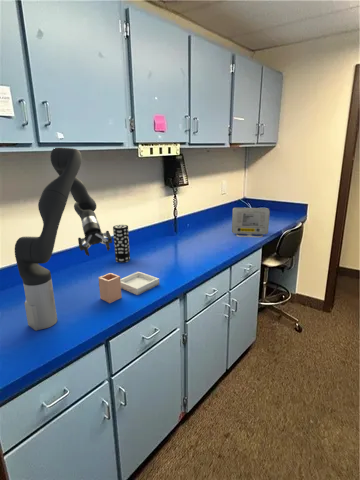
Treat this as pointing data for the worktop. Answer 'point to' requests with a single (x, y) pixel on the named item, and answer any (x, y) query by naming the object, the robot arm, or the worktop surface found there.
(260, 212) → the network device
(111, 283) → the cup
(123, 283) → the tray
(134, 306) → the worktop surface
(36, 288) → the robot arm
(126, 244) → the white-spotted black cylinder
